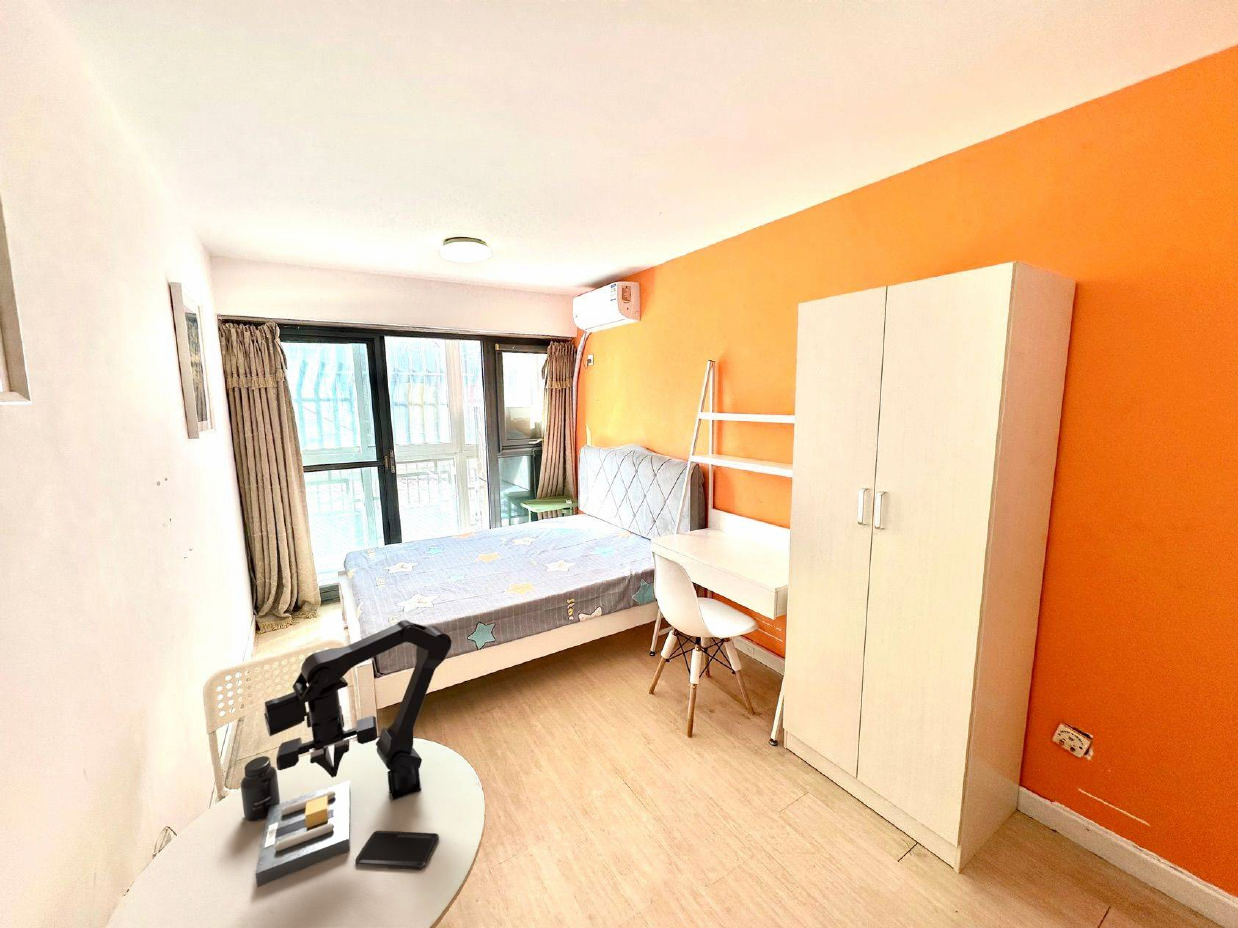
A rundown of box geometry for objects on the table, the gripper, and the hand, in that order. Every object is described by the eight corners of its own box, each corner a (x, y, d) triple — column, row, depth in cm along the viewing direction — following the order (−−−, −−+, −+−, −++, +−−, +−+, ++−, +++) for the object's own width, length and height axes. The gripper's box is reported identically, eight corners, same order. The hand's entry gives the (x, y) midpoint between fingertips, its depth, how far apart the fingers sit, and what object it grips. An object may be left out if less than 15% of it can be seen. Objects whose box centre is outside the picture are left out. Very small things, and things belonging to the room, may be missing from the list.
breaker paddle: (328, 807, 112) (327, 795, 111) (328, 820, 108) (326, 808, 108) (308, 814, 110) (306, 802, 110) (306, 828, 107) (305, 815, 106)
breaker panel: (350, 791, 120) (349, 780, 120) (350, 850, 105) (348, 837, 104) (270, 818, 113) (269, 806, 112) (257, 886, 97) (255, 873, 97)
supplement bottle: (262, 824, 111) (255, 776, 110) (236, 820, 113) (229, 772, 111) (287, 800, 118) (282, 754, 116) (263, 796, 120) (257, 750, 118)
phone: (423, 867, 100) (352, 862, 101) (424, 872, 100) (353, 867, 101) (440, 832, 107) (374, 829, 109) (441, 837, 108) (375, 833, 109)
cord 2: (336, 794, 116) (335, 787, 116) (335, 798, 114) (335, 792, 114) (281, 812, 111) (280, 806, 111) (280, 817, 110) (279, 811, 109)
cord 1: (334, 826, 107) (333, 819, 107) (334, 831, 106) (333, 825, 105) (275, 847, 102) (274, 841, 102) (274, 854, 101) (273, 847, 101)
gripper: (372, 679, 119) (379, 738, 121) (279, 705, 110) (288, 767, 113) (373, 705, 109) (381, 768, 111) (271, 735, 101) (282, 802, 103)
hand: (334, 775), depth 110 cm, fingers closed
